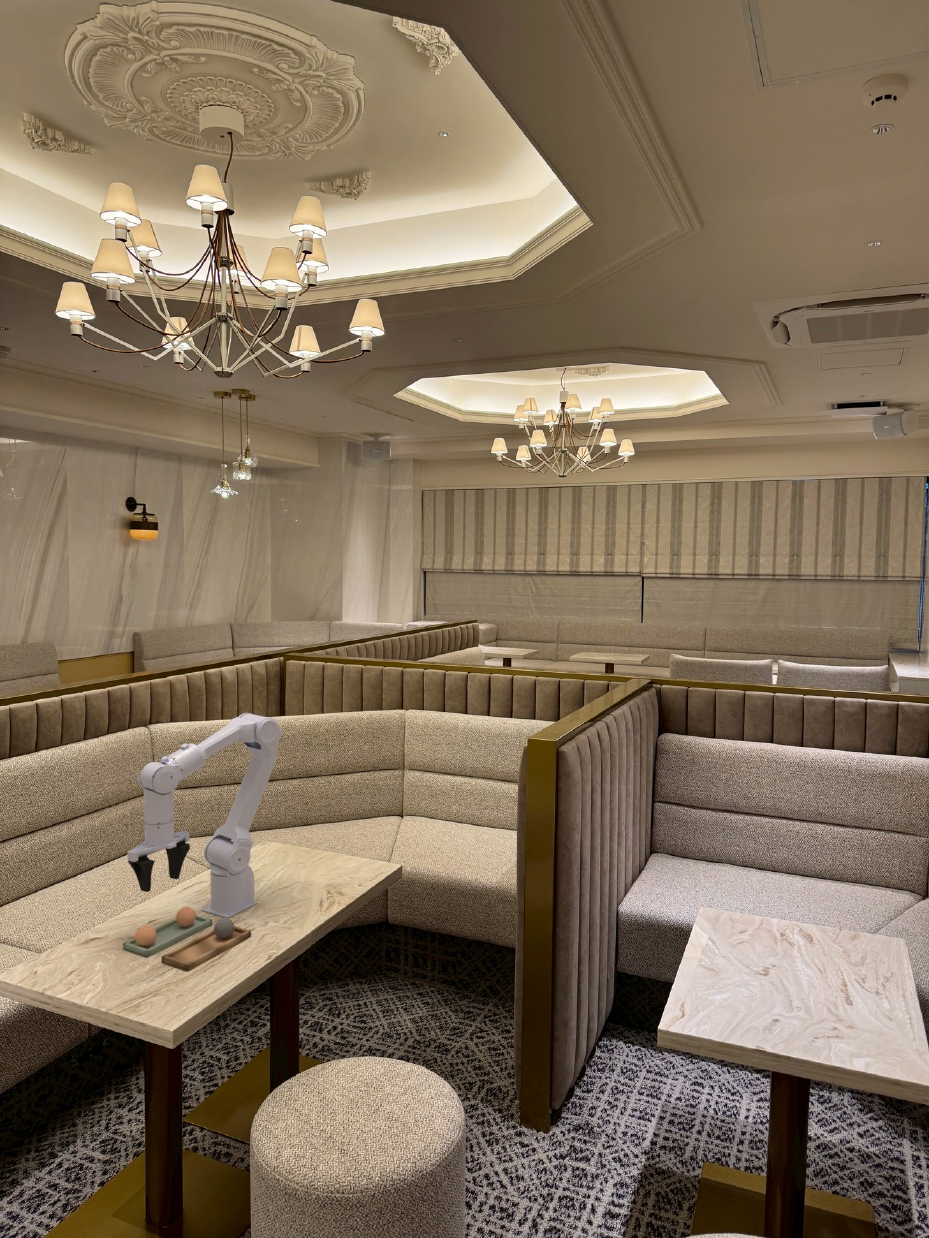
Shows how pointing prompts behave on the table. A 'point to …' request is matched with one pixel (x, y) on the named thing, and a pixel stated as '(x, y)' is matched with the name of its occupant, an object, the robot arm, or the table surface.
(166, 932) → the trough green
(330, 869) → the table surface
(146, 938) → the terracotta ball
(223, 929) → the charcoal ball
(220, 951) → the trough walnut
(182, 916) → the terracotta ball
